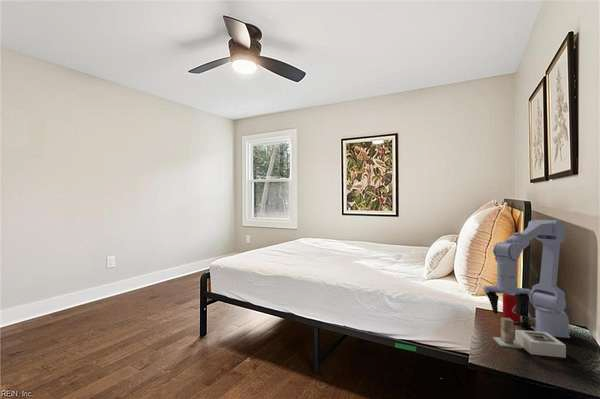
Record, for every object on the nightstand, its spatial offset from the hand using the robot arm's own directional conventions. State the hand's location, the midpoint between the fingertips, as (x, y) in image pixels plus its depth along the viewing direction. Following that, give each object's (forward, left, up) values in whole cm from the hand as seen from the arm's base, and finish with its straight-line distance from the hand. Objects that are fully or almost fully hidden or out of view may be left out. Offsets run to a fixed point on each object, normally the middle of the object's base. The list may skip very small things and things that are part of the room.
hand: (507, 313), depth 105 cm
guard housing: (-9, +2, -10) cm, 14 cm away
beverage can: (-12, -24, -11) cm, 29 cm away
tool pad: (0, 0, -10) cm, 10 cm away
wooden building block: (0, 0, -10) cm, 10 cm away
